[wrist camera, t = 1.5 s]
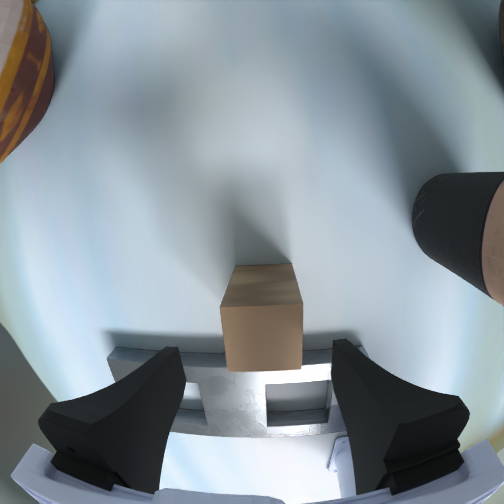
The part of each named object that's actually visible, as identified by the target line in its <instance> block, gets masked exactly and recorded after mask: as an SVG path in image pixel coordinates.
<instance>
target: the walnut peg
mask: <svg viewBox="0 0 504 504" xmlns="http://www.w3.org/2000/svg"><path fill="white" fill-rule="evenodd" d="M220 314H221V322H222V330H223V338H224V346H225V353H226V360H227V368H228V372H264V371H288V370H302V347H303V301H302V298H301V294H300V291H299V287H298V284H297V280H296V277H295V273H294V270H293V266H292V263H288V264H267V265H245V266H235V269H234V271H233V274H232V277H231V279H230V282H229V284H228V287H227V289H226V292H225V295H224V297H223V300H222V302H221V305H220Z"/></svg>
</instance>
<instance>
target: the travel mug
mask: <svg viewBox="0 0 504 504" xmlns="http://www.w3.org/2000/svg"><path fill="white" fill-rule="evenodd" d="M413 230H414V235H415V238H416V240H417V243H418V245H419V246H420V248H421V249H422V251H423V252H424V253H425V254H426V255H427V256H429V257H430V258H431V259H433V260H434V261H436V262H437V263H439V264H441V265H442V266H444V267H445V268H447V269H449V270H450V271H452V272H453V273H455V274H456V275H458V276H460V277H461V278H463V279H464V280H466V281H467V282H469V283H470V284H472V285H473V286H475V287H476V288H478V289H479V290H481V291H482V292H483V293H485V294H486V295H488V296H489V297H491V298H492V299H494V300H495V301H496V302H498V303H500V304H501V305H503V306H504V172H474V173H451V174H442V175H438V176H435V177H433V178H432V179H430V180H429V181H428V182H426V183H425V185H424V186H423V187H422V188H421V190H420V192H419V194H418V196H417V198H416V201H415V204H414V209H413Z"/></svg>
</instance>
